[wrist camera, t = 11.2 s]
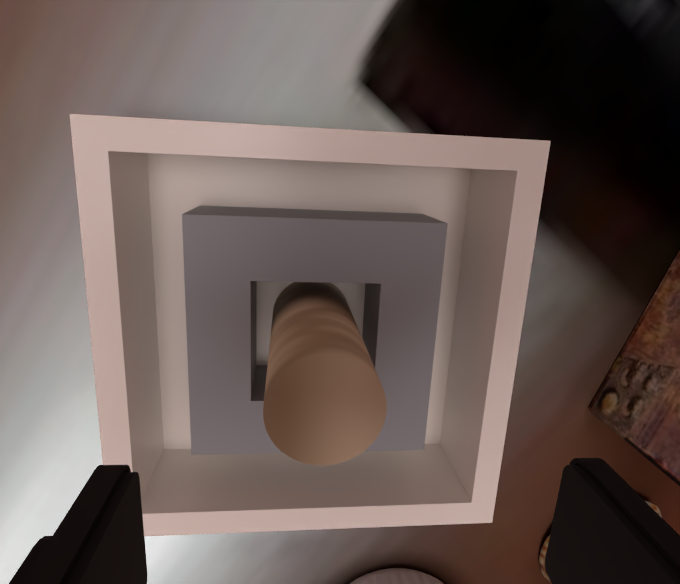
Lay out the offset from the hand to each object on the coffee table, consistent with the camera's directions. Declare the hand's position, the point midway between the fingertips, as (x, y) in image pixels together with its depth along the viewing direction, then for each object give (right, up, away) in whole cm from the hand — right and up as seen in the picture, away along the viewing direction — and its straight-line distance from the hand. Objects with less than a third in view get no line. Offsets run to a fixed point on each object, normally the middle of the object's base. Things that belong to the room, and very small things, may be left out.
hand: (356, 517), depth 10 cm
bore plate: (-2, +4, +16) cm, 16 cm away
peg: (-2, +4, +15) cm, 15 cm away
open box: (-2, +4, +16) cm, 16 cm away
